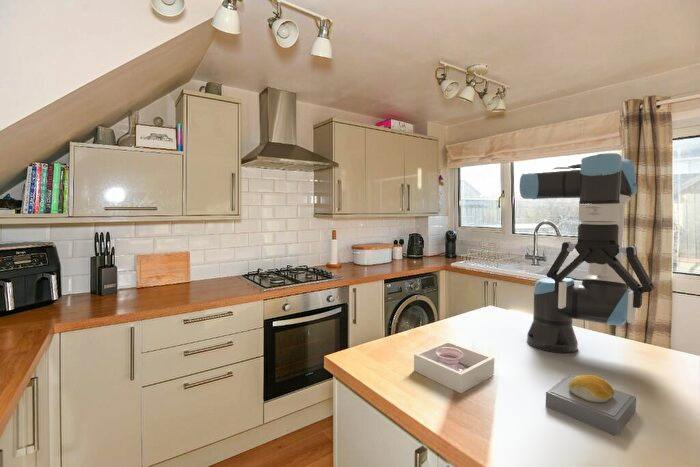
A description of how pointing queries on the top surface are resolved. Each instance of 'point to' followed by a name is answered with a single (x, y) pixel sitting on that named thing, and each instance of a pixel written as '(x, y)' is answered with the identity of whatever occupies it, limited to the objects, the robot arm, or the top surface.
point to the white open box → (456, 380)
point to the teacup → (450, 357)
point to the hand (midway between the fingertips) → (594, 314)
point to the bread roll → (591, 388)
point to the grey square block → (592, 407)
